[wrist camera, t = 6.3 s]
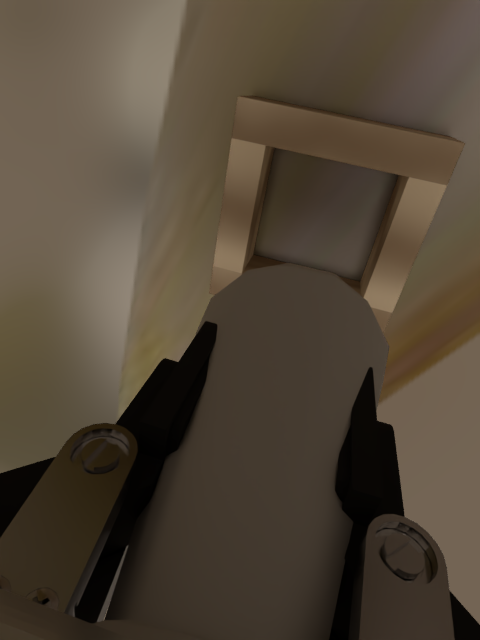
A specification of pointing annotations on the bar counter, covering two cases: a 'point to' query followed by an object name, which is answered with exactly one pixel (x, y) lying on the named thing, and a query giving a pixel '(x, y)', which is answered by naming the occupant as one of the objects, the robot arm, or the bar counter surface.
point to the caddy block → (343, 146)
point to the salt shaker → (256, 470)
